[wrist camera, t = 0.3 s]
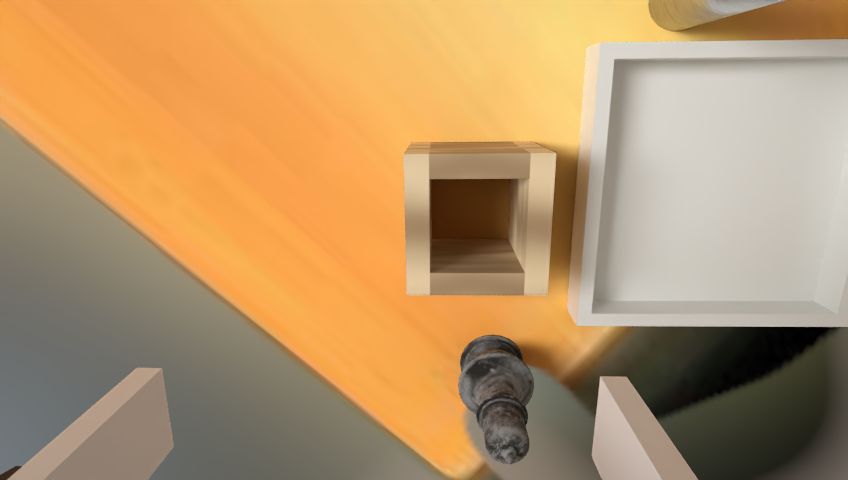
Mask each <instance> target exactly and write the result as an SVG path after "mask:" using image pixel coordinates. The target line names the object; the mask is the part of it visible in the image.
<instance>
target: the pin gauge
mask: <svg viewBox="0 0 848 480" xmlns="http://www.w3.org/2000/svg"><path fill="white" fill-rule="evenodd" d="M782 1H785V0H649V11H650V14H651V17H652V19H653V20H654V21H655V23H656V24H657V25H659V26H660V27H661V28H663V29H666V30H670V31H679V30H683V29H687V28H690V27H694V26H697V25H701V24H704V23H708V22H711V21H715V20H718V19H722V18H725V17H729V16H732V15H736V14H739V13H743V12H746V11H750V10H753V9H757V8H761V7H764V6H768V5H771V4H775V3H778V2H782Z"/></svg>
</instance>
